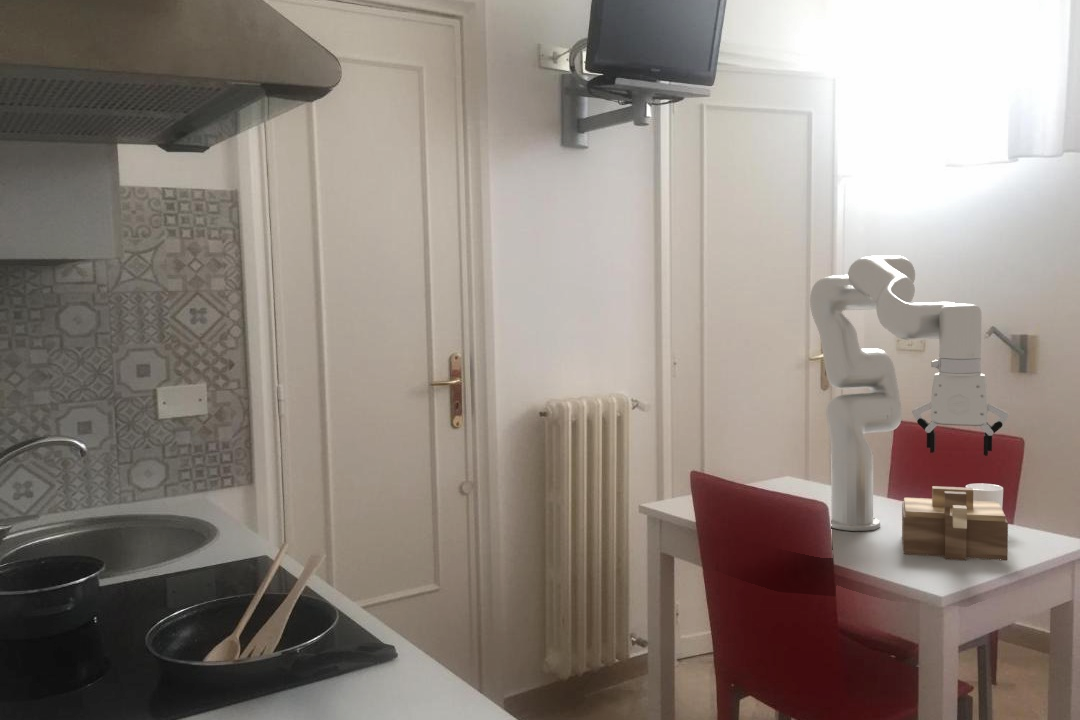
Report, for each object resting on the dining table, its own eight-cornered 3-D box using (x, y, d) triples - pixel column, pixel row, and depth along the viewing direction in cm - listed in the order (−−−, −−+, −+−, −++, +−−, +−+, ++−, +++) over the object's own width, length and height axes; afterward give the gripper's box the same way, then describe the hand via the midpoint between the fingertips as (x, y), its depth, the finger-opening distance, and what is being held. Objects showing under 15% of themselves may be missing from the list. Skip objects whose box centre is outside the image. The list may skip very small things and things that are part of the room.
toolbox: (902, 536, 212) (902, 476, 211) (999, 542, 205) (999, 479, 204) (903, 556, 197) (903, 491, 196) (1008, 563, 190) (1009, 496, 189)
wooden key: (950, 516, 191) (950, 497, 191) (962, 517, 191) (962, 498, 190) (953, 527, 183) (953, 507, 182) (966, 528, 182) (966, 508, 182)
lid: (904, 506, 211) (904, 480, 210) (997, 511, 204) (998, 483, 204) (905, 521, 199) (905, 492, 198) (1005, 526, 192) (1005, 497, 191)
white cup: (1010, 531, 214) (1011, 488, 213) (984, 535, 211) (984, 492, 210) (983, 523, 221) (984, 482, 220) (957, 527, 218) (957, 485, 218)
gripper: (910, 368, 183) (910, 454, 184) (1008, 369, 175) (1007, 459, 176) (914, 364, 189) (914, 447, 191) (1009, 365, 182) (1008, 452, 183)
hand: (958, 453), depth 184 cm, fingers open, 9 cm apart
